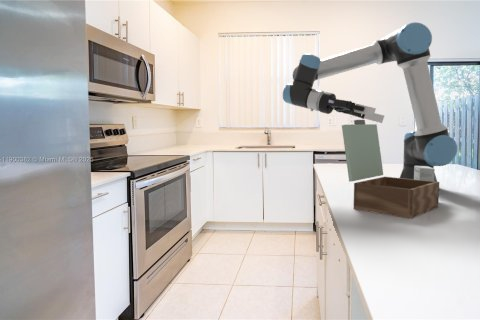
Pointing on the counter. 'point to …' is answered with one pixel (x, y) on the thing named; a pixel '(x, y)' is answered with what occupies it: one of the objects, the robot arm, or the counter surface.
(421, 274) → the counter surface
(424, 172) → the ink box
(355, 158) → the lid
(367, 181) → the wooden box
